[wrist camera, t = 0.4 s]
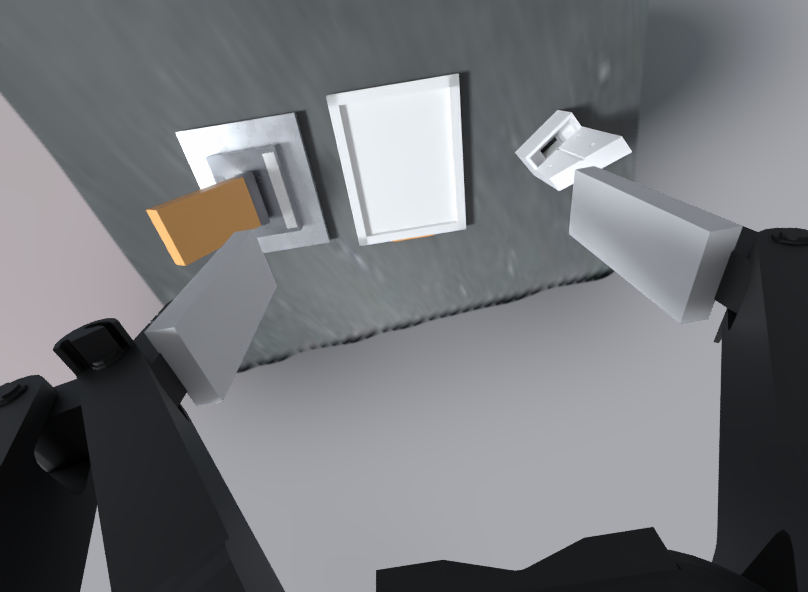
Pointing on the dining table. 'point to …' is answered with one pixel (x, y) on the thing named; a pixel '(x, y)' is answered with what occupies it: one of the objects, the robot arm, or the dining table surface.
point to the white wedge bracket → (569, 149)
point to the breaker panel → (264, 174)
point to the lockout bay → (402, 158)
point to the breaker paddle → (209, 217)
